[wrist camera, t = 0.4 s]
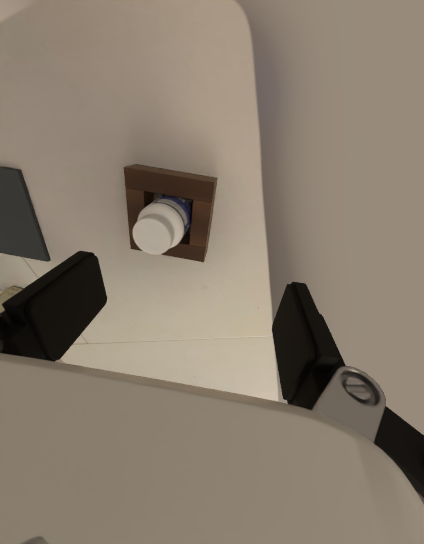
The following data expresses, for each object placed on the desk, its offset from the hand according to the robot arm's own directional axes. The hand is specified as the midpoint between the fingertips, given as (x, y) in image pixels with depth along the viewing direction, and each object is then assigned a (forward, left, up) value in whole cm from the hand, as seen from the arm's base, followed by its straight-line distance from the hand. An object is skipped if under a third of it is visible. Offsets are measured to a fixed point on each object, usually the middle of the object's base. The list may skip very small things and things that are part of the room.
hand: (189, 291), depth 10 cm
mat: (+8, -34, -19) cm, 40 cm away
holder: (+3, -6, -19) cm, 20 cm away
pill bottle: (+3, -6, -20) cm, 21 cm away
